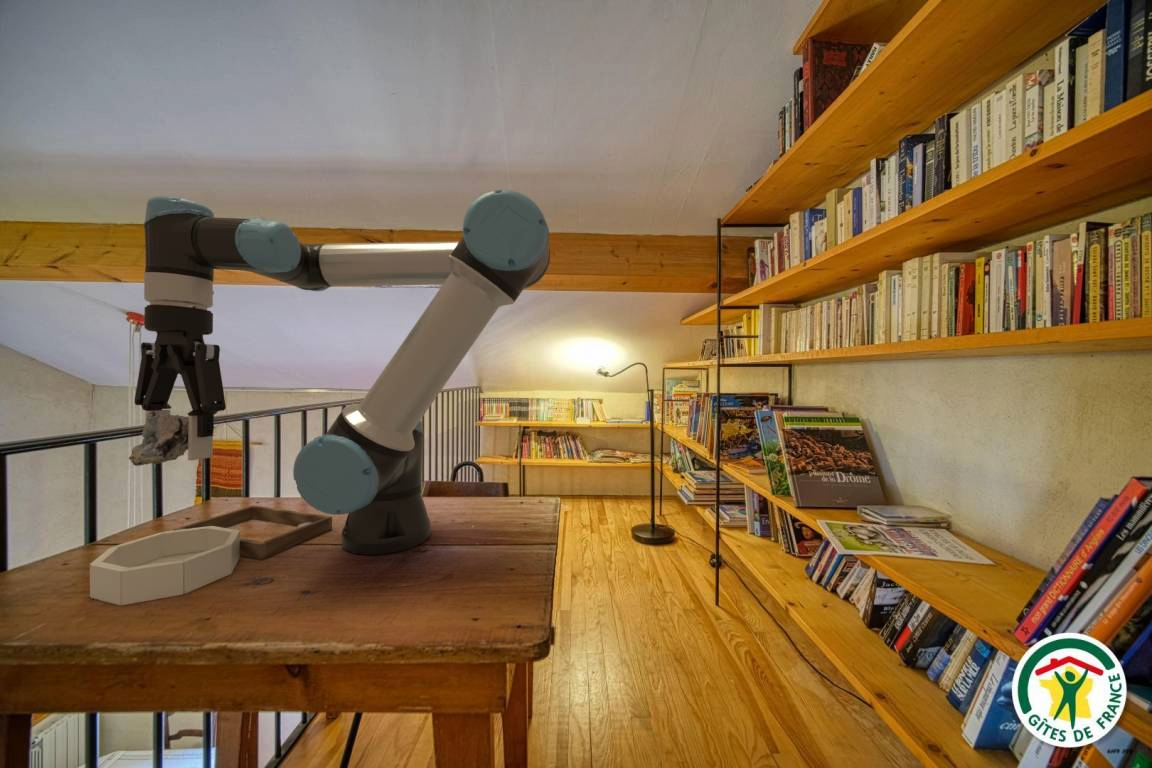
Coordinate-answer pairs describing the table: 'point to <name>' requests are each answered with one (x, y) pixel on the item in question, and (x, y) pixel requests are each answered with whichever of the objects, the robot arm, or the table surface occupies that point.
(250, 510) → the frame
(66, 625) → the table surface
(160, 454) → the mineral specimen
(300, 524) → the pebble
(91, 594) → the bowl
